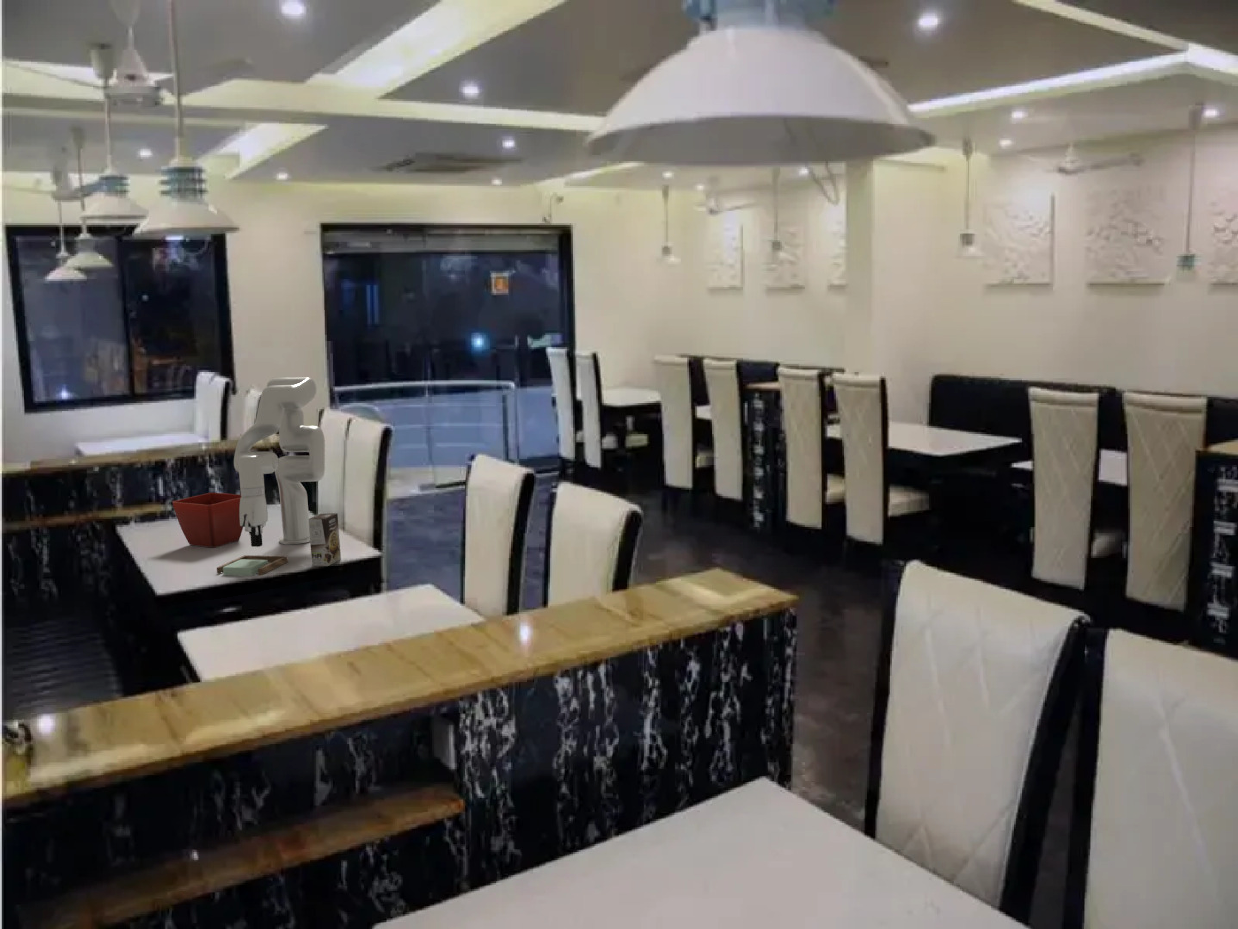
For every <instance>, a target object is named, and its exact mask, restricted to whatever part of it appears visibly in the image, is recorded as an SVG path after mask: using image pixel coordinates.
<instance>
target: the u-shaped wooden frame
mask: <svg viewBox="0 0 1238 929" xmlns="http://www.w3.org/2000/svg"><path fill="white" fill-rule="evenodd" d="M240 559H247V560H268V564H267V565H265V566H263V567H261V568H259V569H258V573H257V574H258V576H263V575H265V574H266V573H269V572H271V571H272V570H275V569H276V568H278V567H280V565H281V566H282V564H283V565H285V564H287V563H288V556H284V555H256V554H255V555H253V554H252V555H250V554H249V555H248V554H247V555H246V554H244V555H242V556H240V557H238V558H235V559H233V560H231V561H229V562H226V563H224V564H222V565H219V566H217V567H216V574H217V573H220V574H222V573H221V572H223V567H224V566H227V565H229V564H231V563H233V562H236V561H238V560H240Z"/></svg>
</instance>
